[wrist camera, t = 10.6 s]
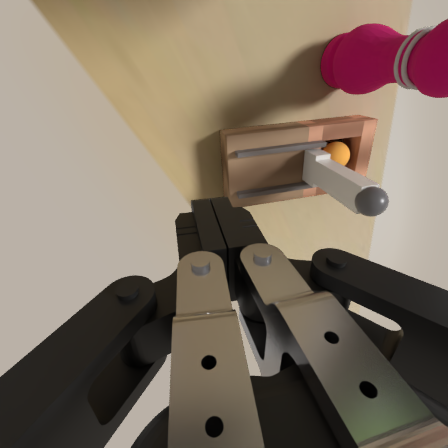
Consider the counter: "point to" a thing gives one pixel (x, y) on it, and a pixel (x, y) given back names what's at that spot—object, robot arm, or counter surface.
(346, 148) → the ball
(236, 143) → the launcher track
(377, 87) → the pepper mill
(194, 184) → the counter surface
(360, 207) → the launcher plunger
